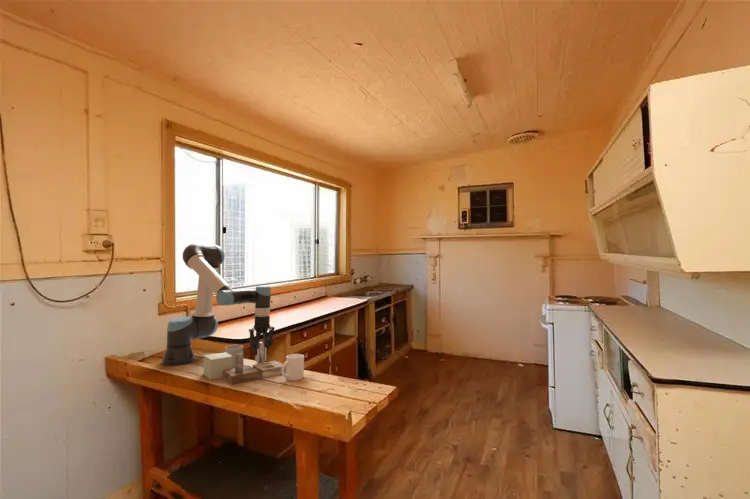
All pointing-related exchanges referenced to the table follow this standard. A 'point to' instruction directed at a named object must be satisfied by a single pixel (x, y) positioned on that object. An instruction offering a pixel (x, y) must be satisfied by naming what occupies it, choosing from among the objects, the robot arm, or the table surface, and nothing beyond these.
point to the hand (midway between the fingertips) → (260, 360)
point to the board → (241, 376)
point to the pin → (261, 352)
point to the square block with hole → (269, 368)
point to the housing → (217, 364)
